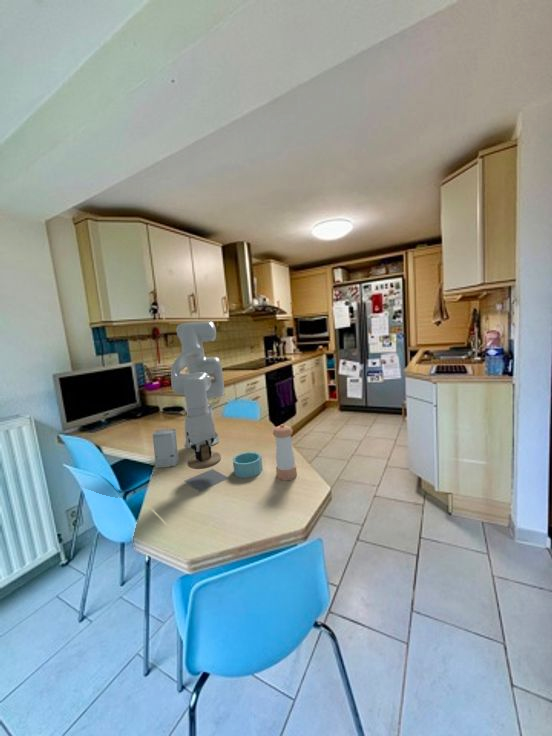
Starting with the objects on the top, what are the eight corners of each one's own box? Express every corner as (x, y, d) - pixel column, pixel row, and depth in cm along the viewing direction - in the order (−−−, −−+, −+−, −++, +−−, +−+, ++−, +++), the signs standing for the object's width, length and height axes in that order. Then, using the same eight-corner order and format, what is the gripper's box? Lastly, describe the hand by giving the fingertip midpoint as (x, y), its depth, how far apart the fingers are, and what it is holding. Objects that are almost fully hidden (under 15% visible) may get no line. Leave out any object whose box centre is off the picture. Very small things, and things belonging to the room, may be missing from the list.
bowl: (228, 472, 117) (227, 459, 116) (250, 463, 124) (249, 450, 123) (245, 481, 109) (243, 466, 108) (268, 470, 116) (266, 456, 115)
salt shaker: (273, 474, 112) (268, 424, 110) (291, 469, 115) (286, 420, 113) (281, 482, 106) (276, 429, 103) (300, 476, 109) (295, 424, 106)
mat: (184, 481, 113) (184, 480, 113) (212, 469, 121) (212, 469, 121) (199, 492, 104) (199, 491, 104) (229, 479, 112) (229, 478, 112)
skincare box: (155, 468, 127) (150, 434, 125) (160, 462, 133) (156, 429, 131) (176, 466, 127) (171, 432, 125) (180, 460, 133) (175, 427, 131)
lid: (182, 462, 113) (179, 447, 112) (210, 451, 121) (208, 436, 120) (197, 472, 104) (195, 456, 103) (227, 459, 112) (225, 444, 111)
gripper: (212, 403, 117) (217, 448, 120) (171, 414, 107) (178, 463, 110) (222, 406, 112) (228, 453, 115) (181, 418, 101) (188, 470, 104)
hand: (204, 457), depth 112 cm, fingers closed on lid, 3 cm apart
